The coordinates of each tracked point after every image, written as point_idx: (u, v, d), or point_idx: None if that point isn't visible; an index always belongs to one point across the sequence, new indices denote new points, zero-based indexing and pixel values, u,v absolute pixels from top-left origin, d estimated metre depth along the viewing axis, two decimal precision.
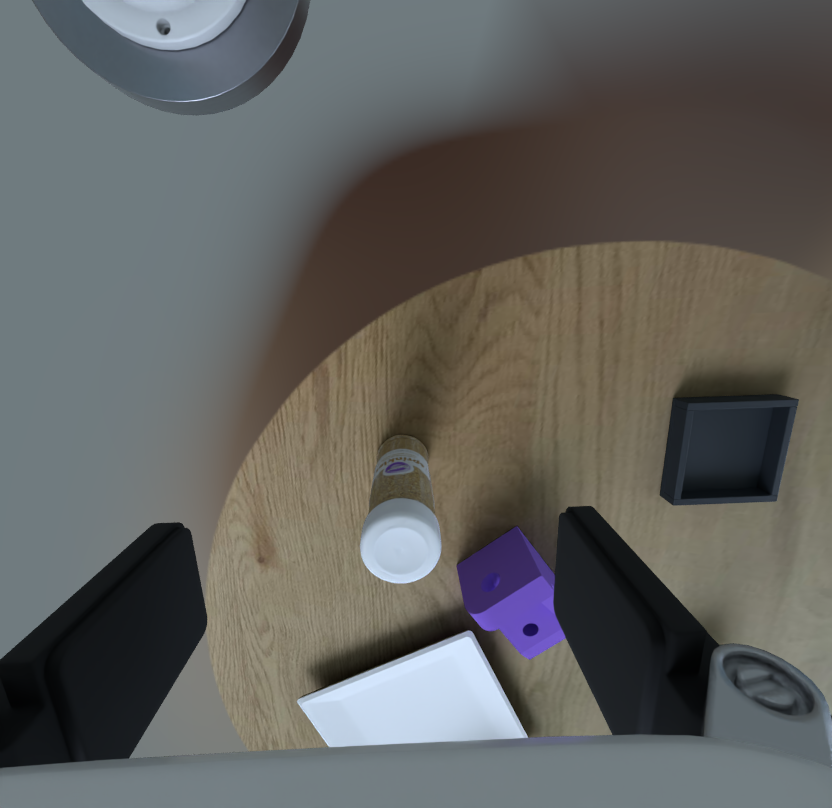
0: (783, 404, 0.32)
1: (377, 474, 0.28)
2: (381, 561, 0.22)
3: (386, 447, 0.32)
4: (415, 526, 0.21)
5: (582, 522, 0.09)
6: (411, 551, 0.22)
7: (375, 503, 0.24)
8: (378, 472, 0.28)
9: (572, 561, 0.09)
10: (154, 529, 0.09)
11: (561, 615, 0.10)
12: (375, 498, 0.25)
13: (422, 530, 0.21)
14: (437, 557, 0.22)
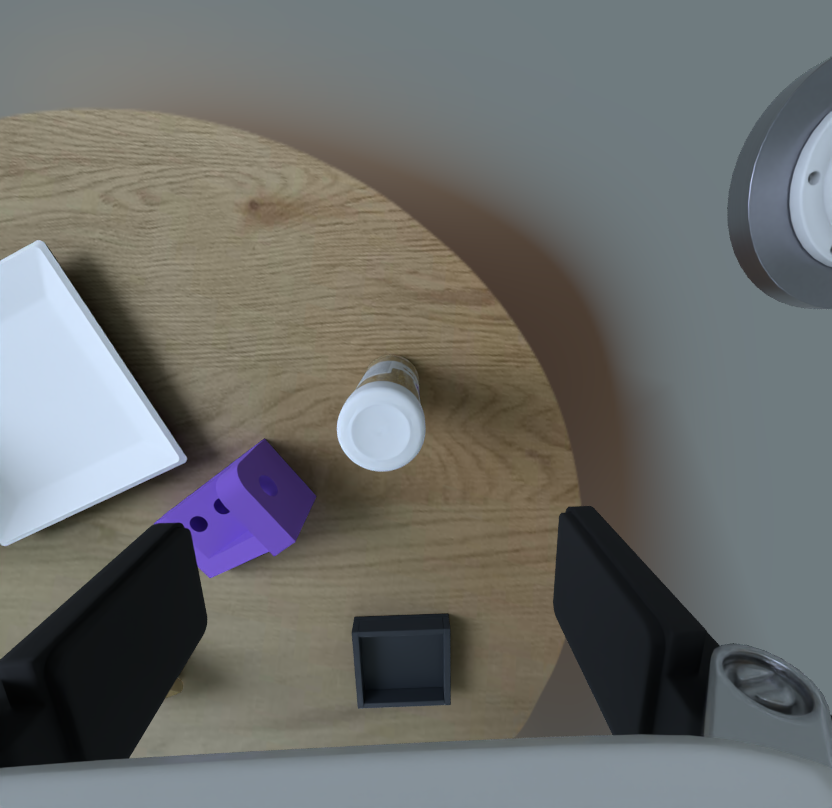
0: (446, 695, 0.39)
1: (407, 373, 0.26)
2: (367, 411, 0.20)
3: (412, 368, 0.31)
4: (410, 447, 0.20)
5: (582, 522, 0.09)
6: (380, 443, 0.20)
7: (408, 389, 0.22)
8: (408, 373, 0.27)
9: (572, 561, 0.09)
10: (154, 529, 0.09)
11: (561, 615, 0.10)
12: (407, 386, 0.23)
13: (405, 454, 0.20)
14: (372, 469, 0.20)
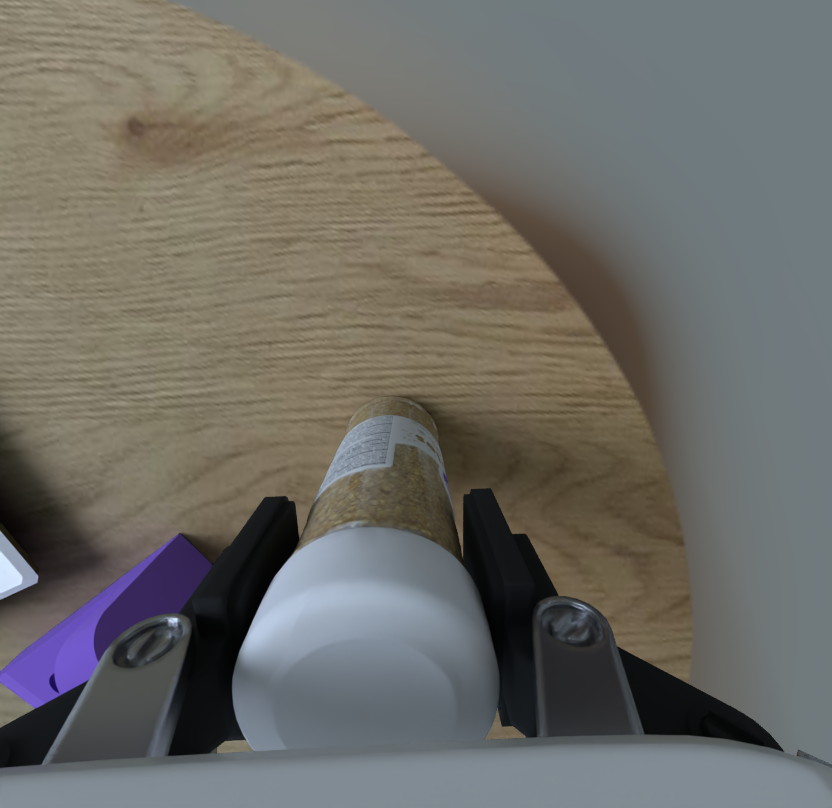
0: None
1: (424, 450, 0.13)
2: (321, 657, 0.06)
3: (428, 424, 0.17)
4: None
5: (476, 501, 0.10)
6: (366, 738, 0.07)
7: (438, 529, 0.09)
8: (427, 451, 0.13)
9: (468, 536, 0.10)
10: (268, 501, 0.10)
11: None
12: (434, 511, 0.09)
13: None
14: None
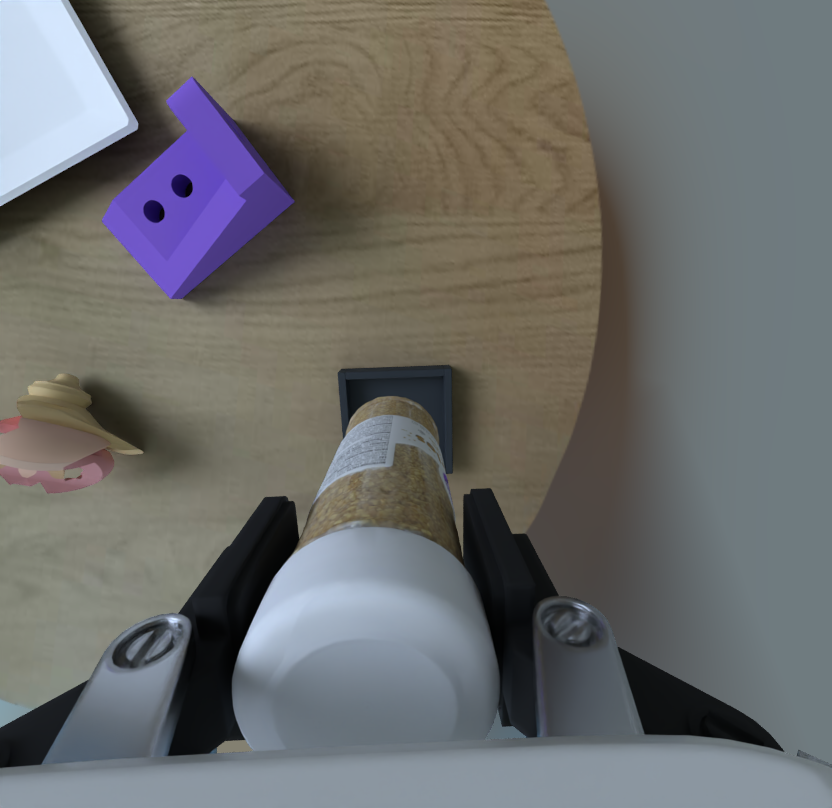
0: (448, 460, 0.34)
1: (424, 450, 0.13)
2: (321, 657, 0.06)
3: (428, 424, 0.17)
4: None
5: (476, 501, 0.10)
6: (366, 738, 0.07)
7: (438, 529, 0.09)
8: (427, 451, 0.13)
9: (468, 536, 0.10)
10: (268, 501, 0.10)
11: None
12: (434, 511, 0.09)
13: None
14: None
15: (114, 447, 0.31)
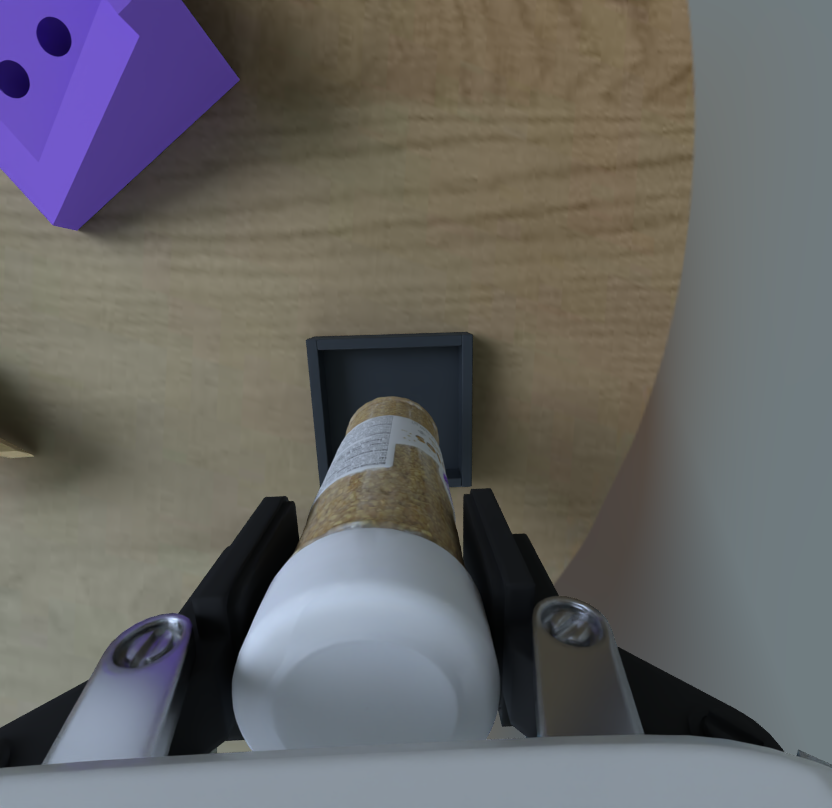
0: (465, 468, 0.24)
1: (424, 451, 0.13)
2: (321, 659, 0.06)
3: (428, 424, 0.17)
4: None
5: (476, 501, 0.10)
6: (366, 739, 0.07)
7: (438, 530, 0.09)
8: (427, 451, 0.13)
9: (468, 537, 0.10)
10: (268, 501, 0.10)
11: None
12: (434, 511, 0.09)
13: None
14: None
15: None
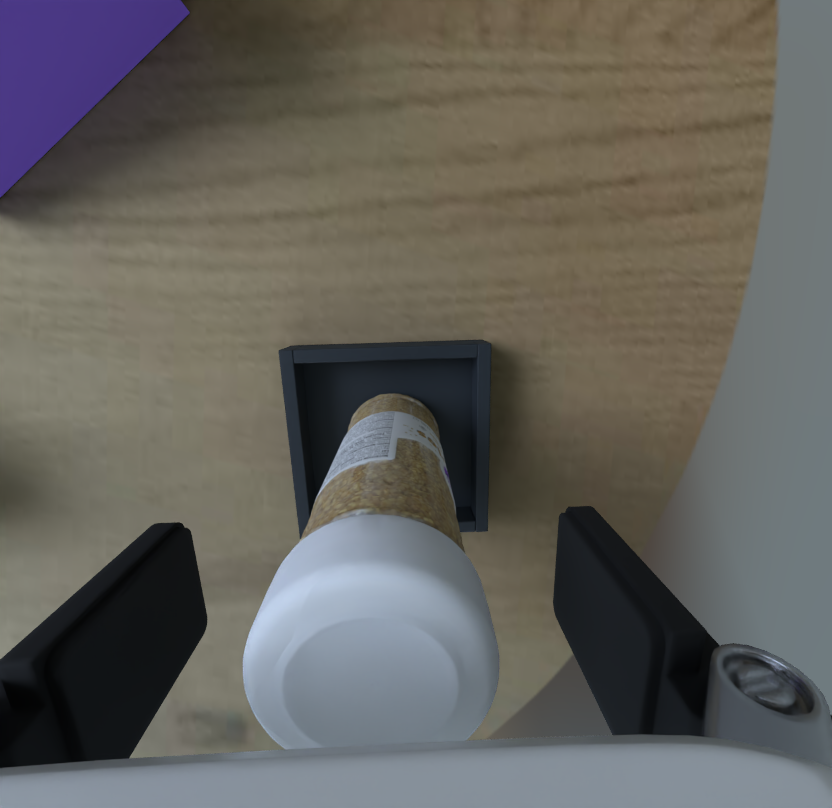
0: (480, 509, 0.19)
1: (426, 445, 0.13)
2: (329, 635, 0.06)
3: (429, 420, 0.18)
4: (458, 722, 0.07)
5: (582, 522, 0.09)
6: (372, 714, 0.07)
7: (440, 518, 0.09)
8: (428, 446, 0.13)
9: (572, 561, 0.09)
10: (154, 529, 0.09)
11: (561, 615, 0.10)
12: (436, 501, 0.10)
13: (443, 739, 0.07)
14: None
15: None
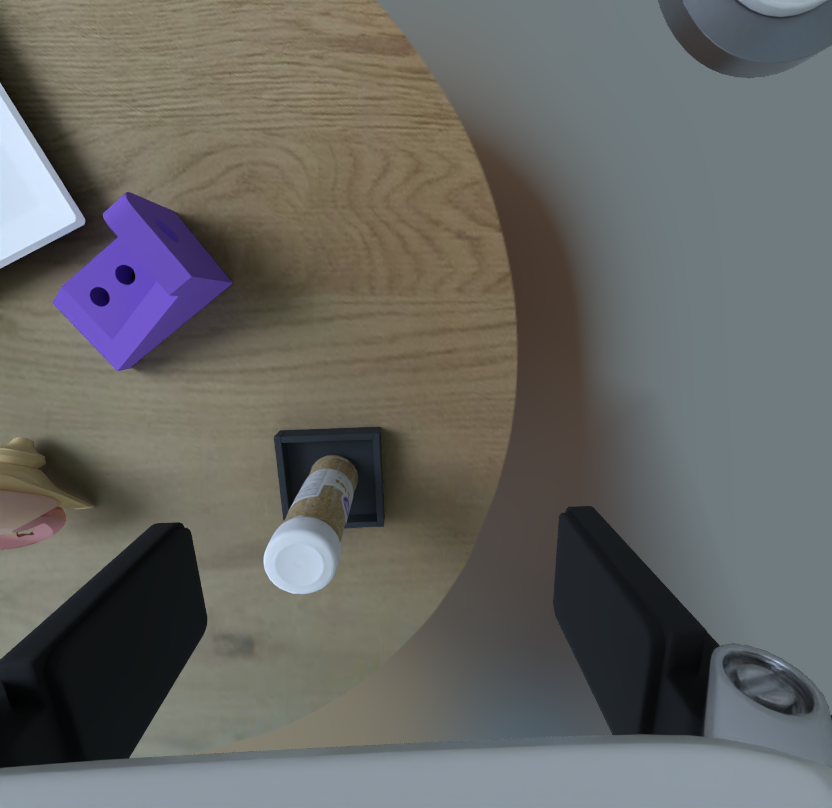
0: (379, 515, 0.37)
1: (337, 487, 0.31)
2: (287, 549, 0.24)
3: (349, 470, 0.35)
4: (324, 575, 0.25)
5: (582, 522, 0.09)
6: (299, 573, 0.24)
7: (328, 518, 0.27)
8: (338, 487, 0.31)
9: (572, 561, 0.09)
10: (154, 529, 0.09)
11: (561, 616, 0.10)
12: (330, 512, 0.27)
13: (321, 581, 0.25)
14: (293, 592, 0.25)
15: (64, 506, 0.34)
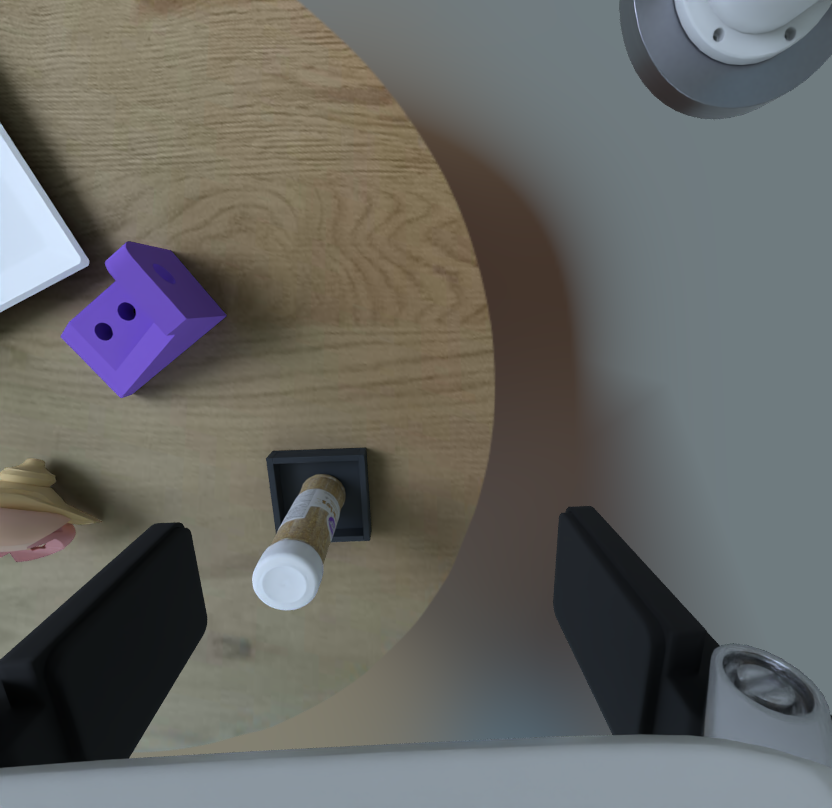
0: (365, 529, 0.39)
1: (323, 508, 0.33)
2: (273, 570, 0.27)
3: (336, 489, 0.38)
4: (307, 594, 0.27)
5: (582, 522, 0.09)
6: (285, 591, 0.27)
7: (312, 540, 0.29)
8: (324, 508, 0.34)
9: (572, 561, 0.09)
10: (154, 529, 0.09)
11: (561, 616, 0.10)
12: (314, 534, 0.30)
13: (304, 599, 0.27)
14: (280, 609, 0.27)
15: (73, 522, 0.37)
